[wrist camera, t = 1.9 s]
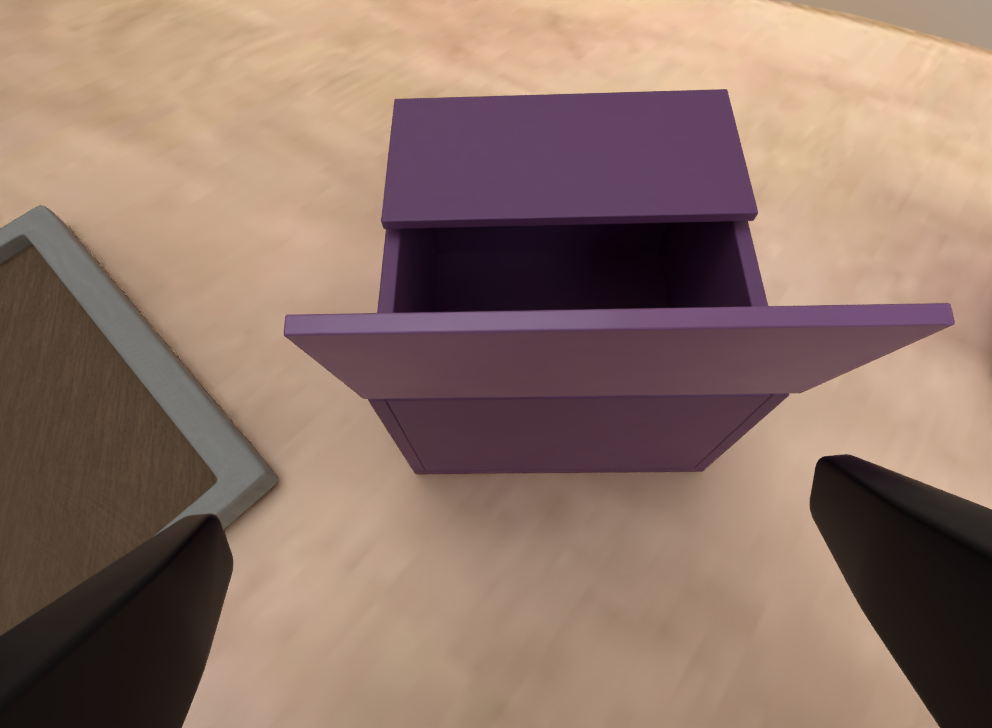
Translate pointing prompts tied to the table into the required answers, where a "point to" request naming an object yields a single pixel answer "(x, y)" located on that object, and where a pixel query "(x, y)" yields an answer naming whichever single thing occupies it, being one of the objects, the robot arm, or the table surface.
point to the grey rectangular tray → (95, 424)
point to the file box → (568, 262)
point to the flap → (608, 349)
